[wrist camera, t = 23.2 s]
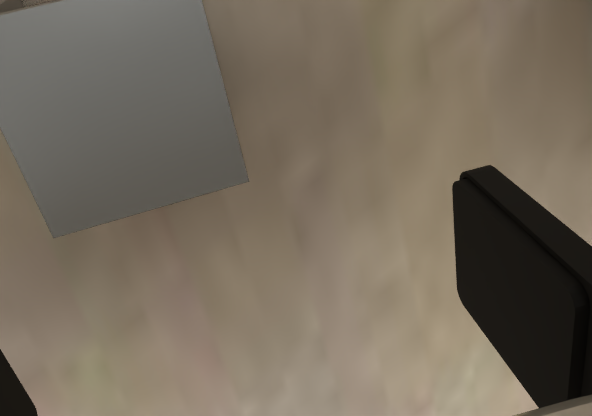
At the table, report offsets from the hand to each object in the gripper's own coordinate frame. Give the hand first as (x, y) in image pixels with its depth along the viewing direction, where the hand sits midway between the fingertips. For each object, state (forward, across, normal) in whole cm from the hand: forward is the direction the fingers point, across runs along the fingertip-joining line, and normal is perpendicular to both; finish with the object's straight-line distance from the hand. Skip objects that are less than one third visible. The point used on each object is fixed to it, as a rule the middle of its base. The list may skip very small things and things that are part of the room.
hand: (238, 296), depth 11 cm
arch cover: (+16, +3, -1) cm, 16 cm away
